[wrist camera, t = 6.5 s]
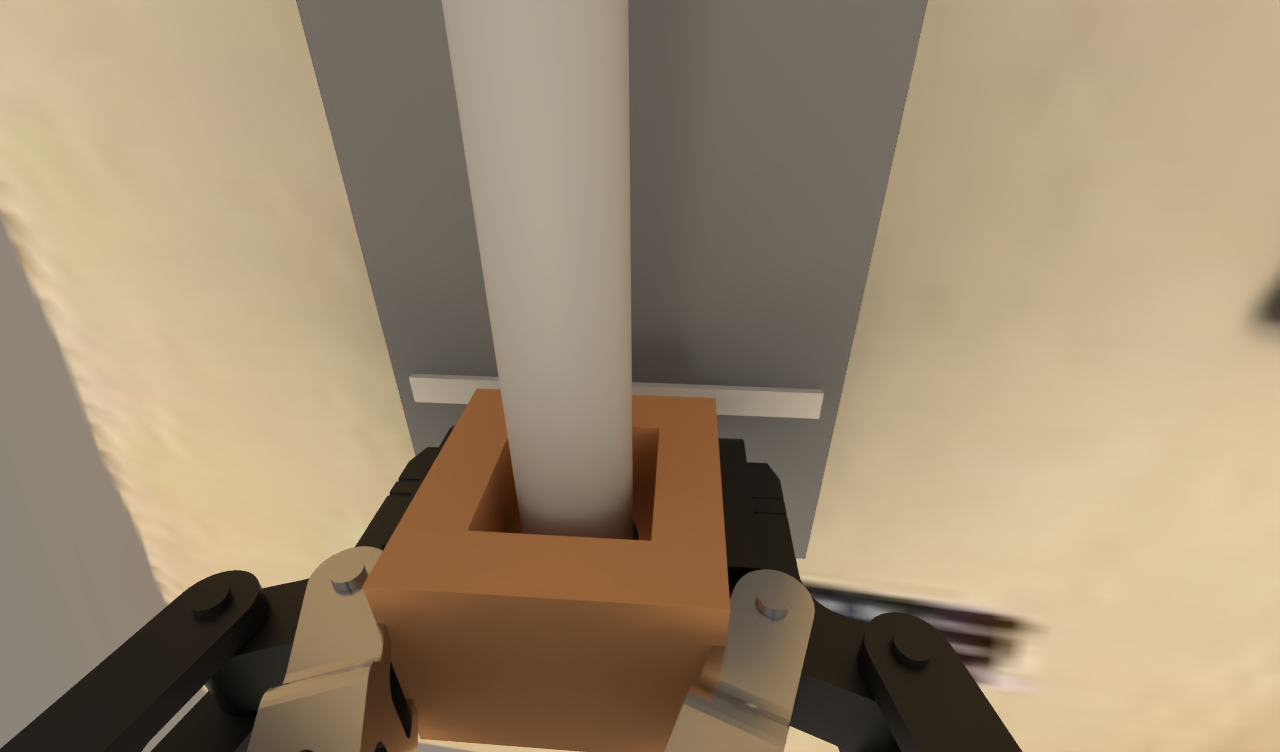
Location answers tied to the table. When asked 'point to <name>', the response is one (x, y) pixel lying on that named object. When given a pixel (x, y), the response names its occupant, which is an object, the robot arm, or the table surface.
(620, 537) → the pipe stand
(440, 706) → the collar
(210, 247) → the table surface
